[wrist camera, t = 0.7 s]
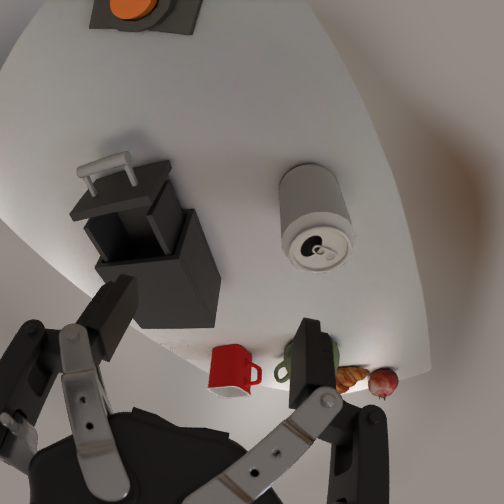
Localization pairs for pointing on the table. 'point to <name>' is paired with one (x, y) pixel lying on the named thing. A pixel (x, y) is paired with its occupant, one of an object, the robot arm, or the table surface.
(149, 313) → the black drawer cabinet
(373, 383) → the fruit
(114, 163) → the small dark drawer
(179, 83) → the table surface
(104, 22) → the control block
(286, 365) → the mug
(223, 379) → the mug
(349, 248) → the can
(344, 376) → the croissant
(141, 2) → the button
